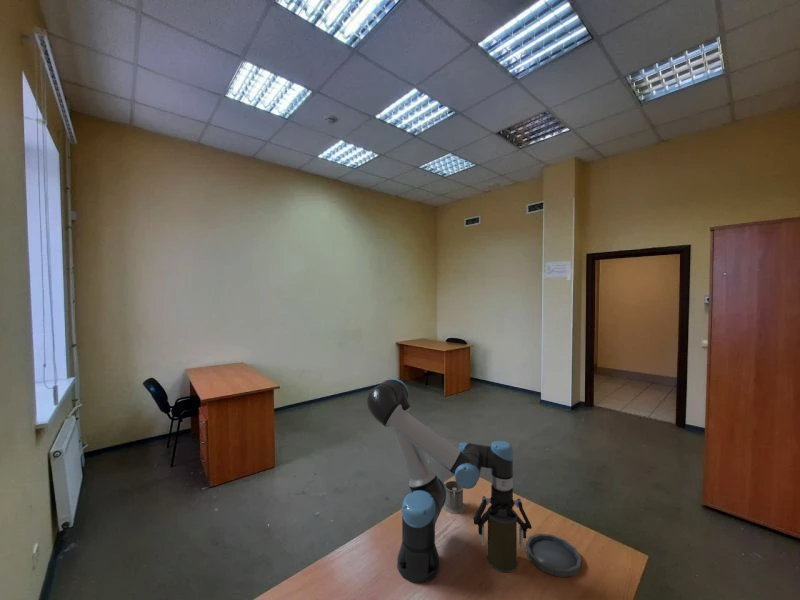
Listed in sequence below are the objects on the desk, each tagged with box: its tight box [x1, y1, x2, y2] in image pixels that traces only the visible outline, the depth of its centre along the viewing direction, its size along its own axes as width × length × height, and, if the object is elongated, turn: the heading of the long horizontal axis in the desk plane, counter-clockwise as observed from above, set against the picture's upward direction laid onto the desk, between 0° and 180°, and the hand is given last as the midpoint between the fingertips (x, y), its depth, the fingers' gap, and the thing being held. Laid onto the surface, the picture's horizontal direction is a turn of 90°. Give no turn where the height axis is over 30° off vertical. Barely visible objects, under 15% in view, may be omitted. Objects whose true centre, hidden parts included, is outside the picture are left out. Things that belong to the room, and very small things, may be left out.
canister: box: [486, 506, 518, 573], centre depth 120 cm, size 11×10×20 cm
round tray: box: [525, 533, 582, 578], centre depth 122 cm, size 18×18×2 cm
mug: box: [442, 480, 466, 515], centre depth 149 cm, size 14×10×12 cm
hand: (501, 544), depth 120 cm, fingers open, 13 cm apart
